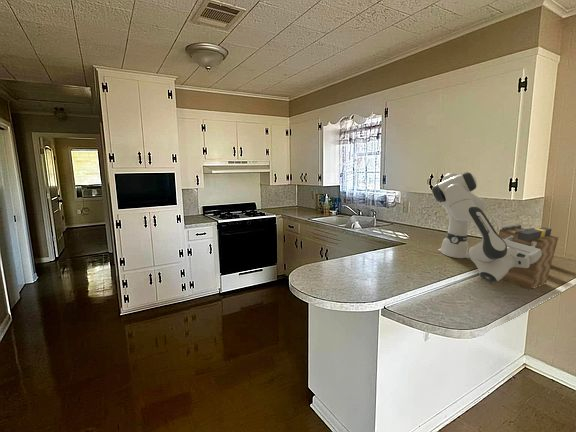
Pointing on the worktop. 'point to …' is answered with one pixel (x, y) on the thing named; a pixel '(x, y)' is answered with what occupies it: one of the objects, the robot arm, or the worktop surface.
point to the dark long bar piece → (534, 234)
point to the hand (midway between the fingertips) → (523, 239)
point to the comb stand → (537, 270)
